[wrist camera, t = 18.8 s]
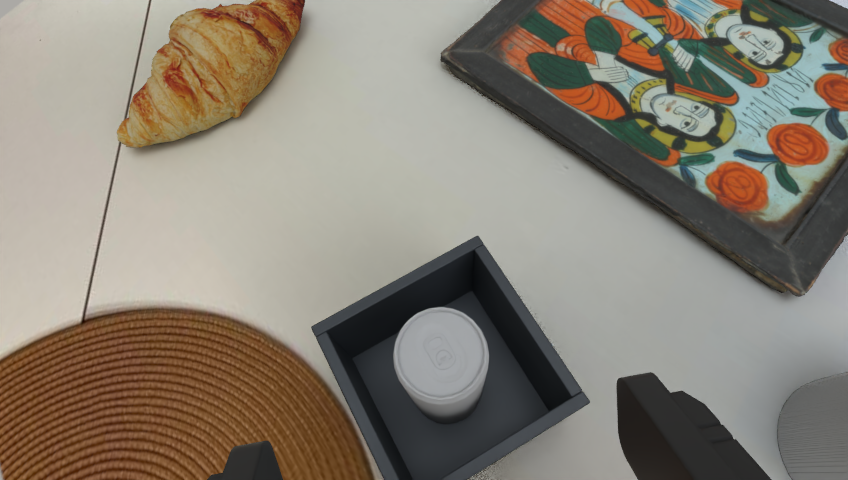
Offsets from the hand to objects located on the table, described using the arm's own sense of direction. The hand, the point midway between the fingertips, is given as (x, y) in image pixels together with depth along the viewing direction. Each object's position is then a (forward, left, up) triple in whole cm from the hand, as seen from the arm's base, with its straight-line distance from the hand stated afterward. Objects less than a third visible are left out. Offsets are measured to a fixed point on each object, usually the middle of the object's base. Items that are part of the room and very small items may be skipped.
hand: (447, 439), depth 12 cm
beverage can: (+5, +1, -25) cm, 26 cm away
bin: (+5, +1, -26) cm, 26 cm away
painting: (+32, -20, -26) cm, 46 cm away
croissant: (+33, +22, -26) cm, 47 cm away
